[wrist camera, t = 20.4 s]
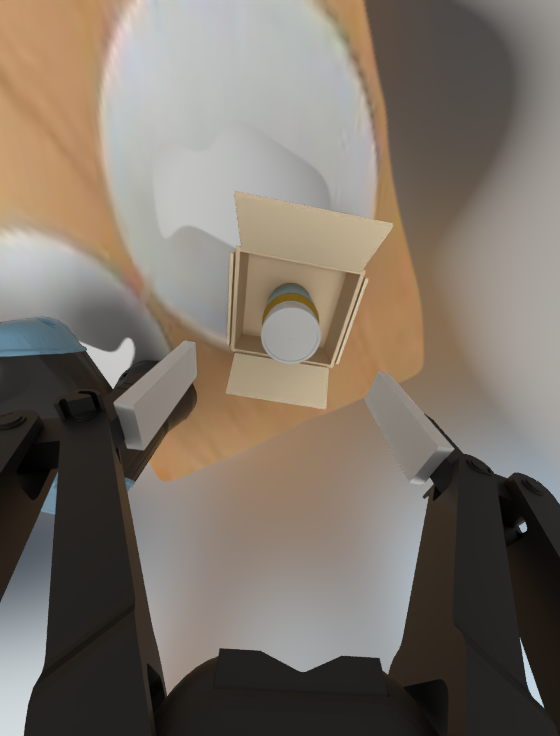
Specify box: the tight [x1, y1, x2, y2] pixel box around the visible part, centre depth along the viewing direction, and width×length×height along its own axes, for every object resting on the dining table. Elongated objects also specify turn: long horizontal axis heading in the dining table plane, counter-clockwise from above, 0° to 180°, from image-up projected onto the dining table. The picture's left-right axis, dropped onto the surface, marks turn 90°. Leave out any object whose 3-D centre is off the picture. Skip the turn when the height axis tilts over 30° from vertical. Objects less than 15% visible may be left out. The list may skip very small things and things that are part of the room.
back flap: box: [226, 353, 329, 409], centre depth 30 cm, size 6×14×1 cm
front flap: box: [234, 191, 393, 272], centre depth 21 cm, size 6×14×1 cm
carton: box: [227, 246, 368, 368], centre depth 31 cm, size 17×14×7 cm
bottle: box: [261, 283, 321, 364], centre depth 27 cm, size 7×7×15 cm
